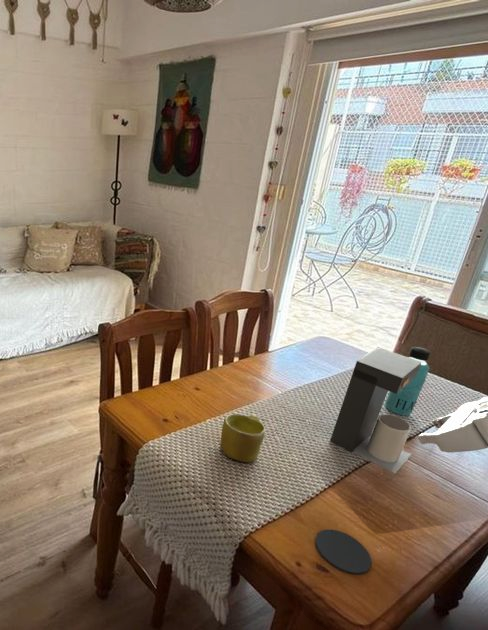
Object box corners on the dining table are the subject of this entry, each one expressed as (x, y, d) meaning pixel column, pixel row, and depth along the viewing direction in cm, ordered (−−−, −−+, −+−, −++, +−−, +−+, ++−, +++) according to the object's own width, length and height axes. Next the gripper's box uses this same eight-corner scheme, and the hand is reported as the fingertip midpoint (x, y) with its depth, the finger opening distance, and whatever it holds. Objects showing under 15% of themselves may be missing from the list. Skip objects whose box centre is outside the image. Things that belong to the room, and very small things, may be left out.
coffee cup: (405, 461, 103) (418, 429, 99) (381, 463, 102) (394, 431, 98) (383, 442, 108) (395, 412, 105) (360, 445, 107) (371, 414, 104)
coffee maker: (411, 457, 106) (449, 371, 96) (392, 478, 99) (431, 389, 89) (349, 427, 116) (377, 346, 106) (328, 444, 109) (356, 360, 99)
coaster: (382, 571, 78) (383, 569, 78) (337, 577, 77) (338, 575, 76) (345, 528, 86) (346, 526, 86) (304, 533, 85) (305, 532, 85)
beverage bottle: (387, 417, 120) (413, 353, 112) (378, 404, 126) (401, 342, 118) (414, 422, 118) (442, 357, 110) (404, 407, 124) (429, 345, 116)
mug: (249, 470, 97) (250, 426, 97) (210, 456, 106) (211, 415, 105) (279, 459, 104) (280, 417, 104) (240, 446, 113) (241, 408, 112)
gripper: (508, 386, 93) (435, 402, 104) (479, 420, 82) (401, 434, 93) (527, 414, 91) (451, 427, 102) (500, 453, 80) (419, 463, 91)
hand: (427, 431), depth 97 cm, fingers open, 8 cm apart
